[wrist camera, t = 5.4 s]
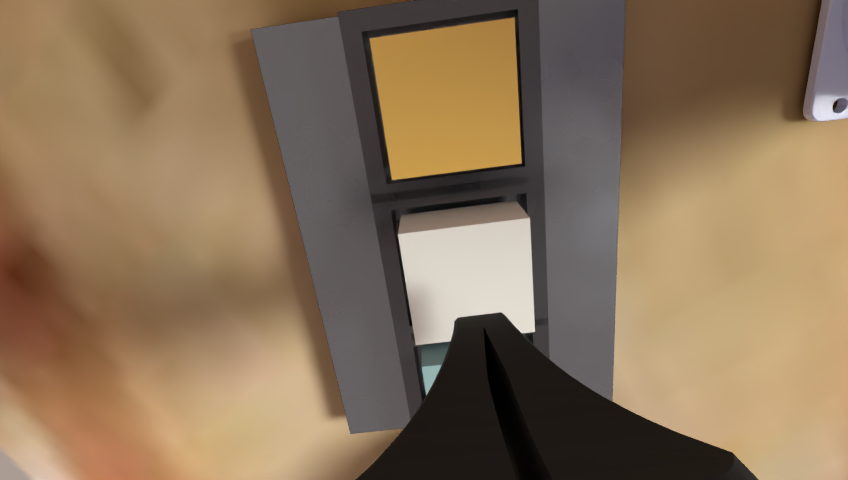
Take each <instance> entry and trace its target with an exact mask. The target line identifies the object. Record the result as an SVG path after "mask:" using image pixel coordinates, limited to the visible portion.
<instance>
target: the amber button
mask: <svg viewBox="0 0 848 480" xmlns="http://www.w3.org/2000/svg"><path fill="white" fill-rule="evenodd" d="M370 45H371V51H372V57H373V63H374V70H375V76H376V82H377V89H378V95H379V101H380V108H381V114H382V120H383V126H384V133H385V139H386V145H387V152H388V158H389V164H390V170H391V177H392V180H397V179H405V178H413V177H421V176H428V175H436V174H444V173H451V172H459V171H467V170H475V169H482V168H490V167H498V166H506V165H513V164H521V163H522V160H521V139H520V119H519V99H518V78H517V58H516V37H515V17H514V18H507V19H500V20H493V21H486V22H479V23H472V24H466V25H459V26H452V27H445V28H438V29H431V30H424V31H417V32H410V33H403V34H396V35H389V36H383V37H376V38H370Z"/></svg>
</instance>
